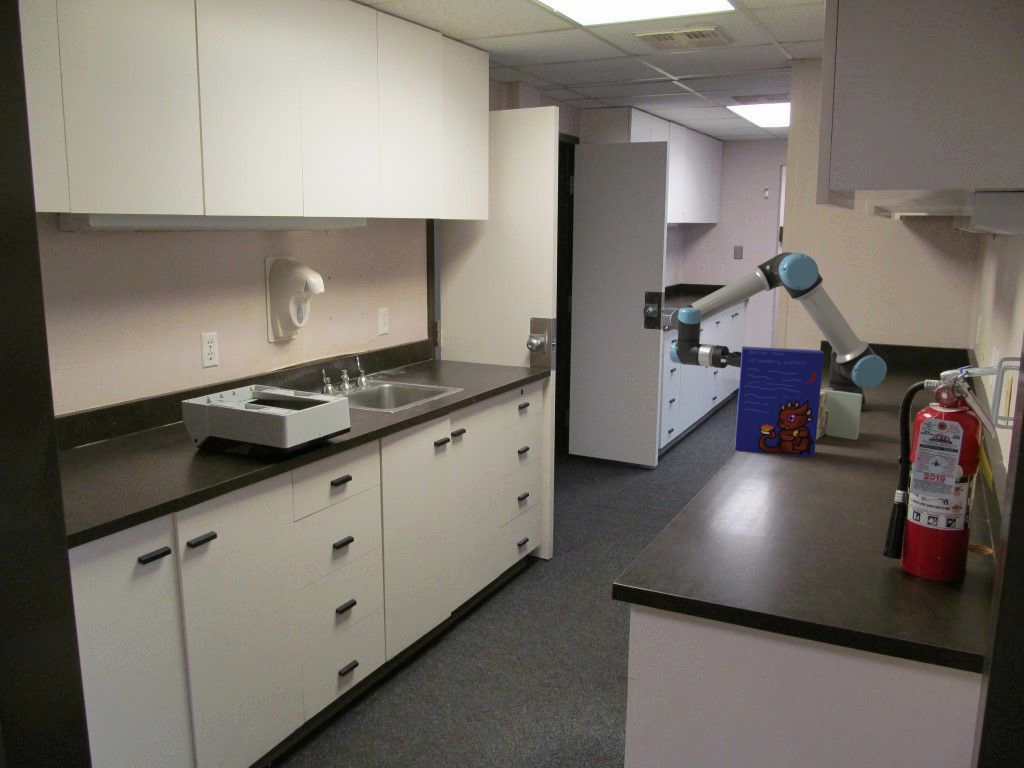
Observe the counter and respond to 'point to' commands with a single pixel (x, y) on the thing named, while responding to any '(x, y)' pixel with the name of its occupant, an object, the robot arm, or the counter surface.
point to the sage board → (843, 414)
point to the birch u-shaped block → (822, 414)
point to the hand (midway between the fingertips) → (777, 362)
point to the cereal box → (778, 400)
